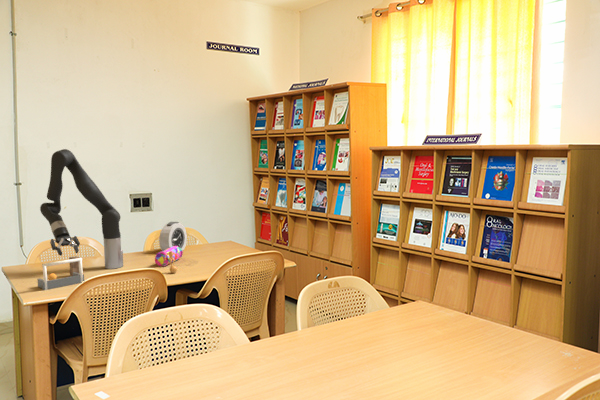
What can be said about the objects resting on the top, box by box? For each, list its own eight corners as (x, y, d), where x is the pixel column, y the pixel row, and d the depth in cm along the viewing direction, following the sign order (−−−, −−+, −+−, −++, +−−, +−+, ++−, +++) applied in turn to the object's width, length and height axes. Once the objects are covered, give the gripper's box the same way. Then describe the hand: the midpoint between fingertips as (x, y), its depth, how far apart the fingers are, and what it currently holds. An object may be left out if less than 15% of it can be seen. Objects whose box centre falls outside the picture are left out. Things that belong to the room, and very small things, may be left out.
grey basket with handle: (76, 279, 259) (75, 255, 258) (84, 282, 253) (83, 257, 252) (36, 286, 245) (35, 261, 244) (43, 290, 239) (42, 264, 237)
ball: (55, 279, 259) (54, 272, 259) (58, 280, 256) (57, 273, 256) (47, 281, 256) (46, 273, 256) (50, 282, 253) (49, 274, 253)
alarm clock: (169, 254, 322) (168, 224, 320) (159, 253, 325) (158, 223, 323) (187, 248, 342) (186, 220, 340) (178, 247, 344) (177, 219, 343)
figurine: (167, 274, 267) (166, 252, 266) (163, 272, 271) (162, 251, 270) (182, 272, 272) (181, 250, 271) (177, 270, 277) (176, 249, 276)
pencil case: (169, 267, 285) (168, 251, 285) (153, 266, 287) (153, 251, 286) (183, 259, 307) (183, 245, 306) (169, 259, 308) (169, 244, 307)
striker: (77, 274, 271) (76, 256, 270) (80, 275, 268) (79, 257, 267) (70, 275, 268) (69, 257, 267) (73, 276, 265) (72, 258, 264)
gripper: (48, 227, 271) (57, 251, 264) (74, 225, 281) (84, 247, 274) (44, 236, 275) (54, 259, 268) (71, 233, 285) (80, 255, 278)
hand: (69, 253), depth 271 cm, fingers open, 8 cm apart
